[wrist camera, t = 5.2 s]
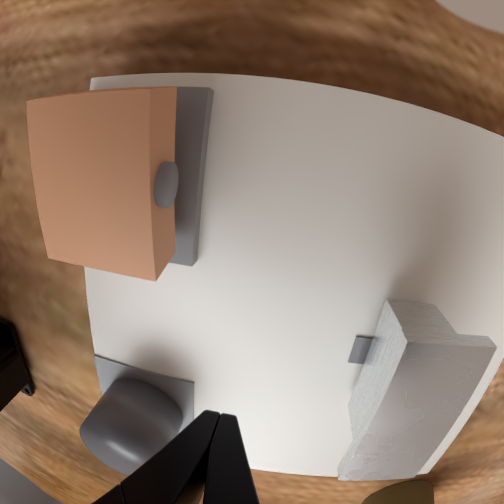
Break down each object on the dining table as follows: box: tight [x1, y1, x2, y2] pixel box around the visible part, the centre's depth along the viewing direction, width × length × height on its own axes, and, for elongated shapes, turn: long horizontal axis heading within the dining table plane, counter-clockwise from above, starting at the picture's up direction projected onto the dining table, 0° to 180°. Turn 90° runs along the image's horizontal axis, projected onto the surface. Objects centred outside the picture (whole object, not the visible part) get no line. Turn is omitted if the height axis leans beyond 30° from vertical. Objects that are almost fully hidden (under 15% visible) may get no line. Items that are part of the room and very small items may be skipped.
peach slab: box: [27, 86, 179, 282], centre depth 8 cm, size 4×5×2 cm
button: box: [80, 379, 182, 476], centre depth 12 cm, size 4×4×3 cm
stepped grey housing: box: [337, 298, 497, 480], centre depth 9 cm, size 3×6×4 cm, turn 173°
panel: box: [84, 73, 504, 477], centre depth 12 cm, size 19×18×3 cm
